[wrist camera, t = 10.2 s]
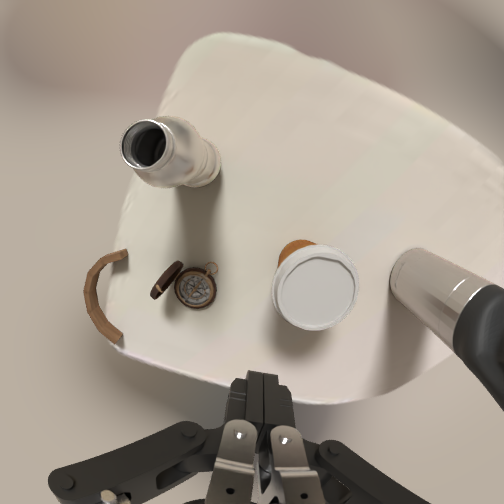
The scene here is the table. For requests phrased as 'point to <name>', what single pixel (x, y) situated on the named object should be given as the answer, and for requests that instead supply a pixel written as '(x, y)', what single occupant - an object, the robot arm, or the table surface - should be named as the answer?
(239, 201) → the table surface
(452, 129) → the table surface
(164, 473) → the robot arm
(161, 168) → the plastic bottle
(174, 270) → the compass
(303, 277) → the disposable coffee cup
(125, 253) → the brown segmented arc
